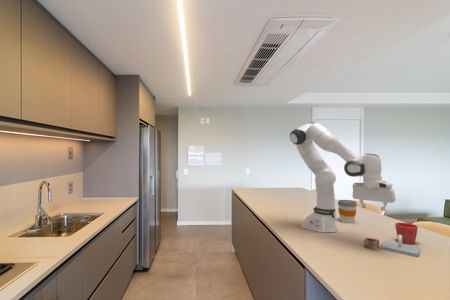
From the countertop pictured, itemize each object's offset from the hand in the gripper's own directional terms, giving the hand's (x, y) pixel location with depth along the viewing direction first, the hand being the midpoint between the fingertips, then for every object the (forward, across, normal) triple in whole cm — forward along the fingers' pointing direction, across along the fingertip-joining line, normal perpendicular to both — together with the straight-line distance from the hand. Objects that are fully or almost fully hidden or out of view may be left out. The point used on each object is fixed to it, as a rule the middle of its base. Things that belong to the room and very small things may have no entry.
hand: (373, 209), depth 138 cm
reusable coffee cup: (+20, -32, +42) cm, 56 cm away
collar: (+20, -1, -2) cm, 20 cm away
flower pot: (+21, +9, +23) cm, 32 cm away
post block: (+20, +10, +6) cm, 24 cm away
